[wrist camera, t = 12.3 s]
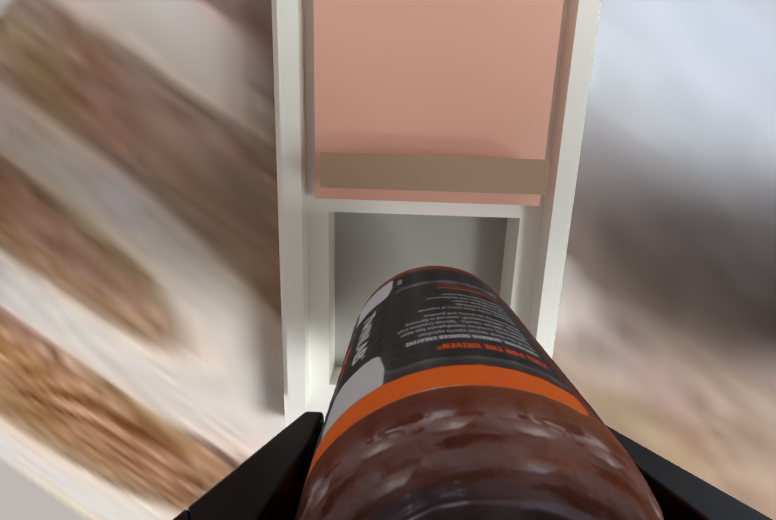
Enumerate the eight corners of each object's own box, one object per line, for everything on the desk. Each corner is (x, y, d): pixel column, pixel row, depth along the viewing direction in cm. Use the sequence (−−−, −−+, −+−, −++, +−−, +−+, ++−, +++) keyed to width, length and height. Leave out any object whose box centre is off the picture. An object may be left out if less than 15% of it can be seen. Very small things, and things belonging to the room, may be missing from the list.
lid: (560, -41, 14) (601, -96, 11) (532, 204, 16) (561, 209, 13) (317, -49, 14) (298, -104, 11) (319, 197, 16) (304, 201, 13)
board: (582, -55, 16) (631, -116, 13) (522, 427, 21) (546, 473, 18) (286, -63, 16) (258, -126, 13) (297, 419, 21) (279, 463, 18)
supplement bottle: (331, 292, 14) (44, 736, 3) (483, 237, 13) (900, 535, 2) (388, 425, 15) (341, 1122, 4) (531, 380, 14) (971, 1070, 3)
